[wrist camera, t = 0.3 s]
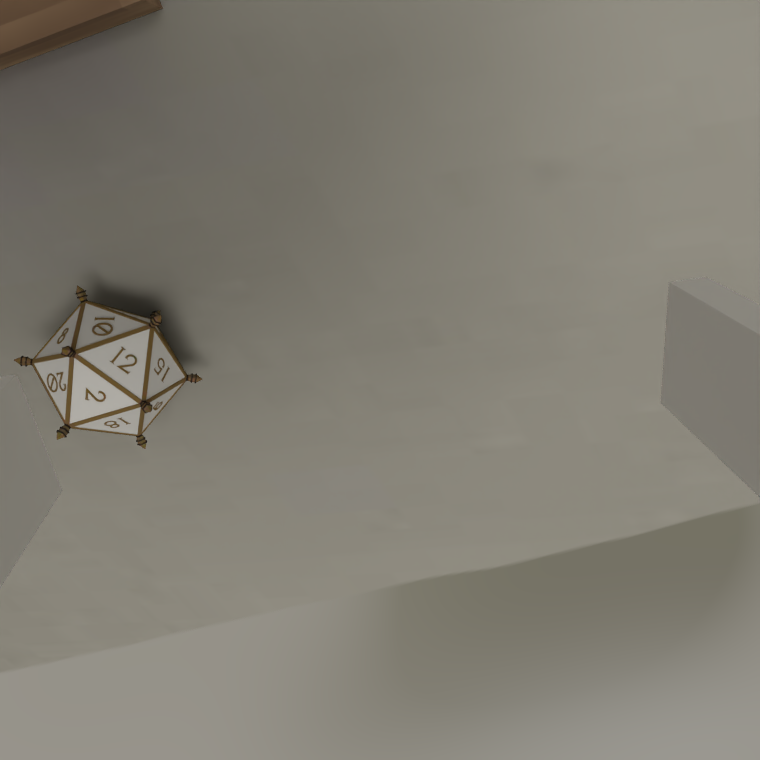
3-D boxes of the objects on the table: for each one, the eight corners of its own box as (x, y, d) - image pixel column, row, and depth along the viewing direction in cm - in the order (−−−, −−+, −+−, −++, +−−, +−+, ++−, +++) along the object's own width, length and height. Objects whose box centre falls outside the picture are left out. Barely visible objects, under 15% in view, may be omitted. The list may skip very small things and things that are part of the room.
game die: (139, 350, 45) (44, 469, 39) (68, 250, 39) (-55, 375, 33) (246, 365, 41) (160, 499, 36) (187, 259, 35) (71, 400, 30)
